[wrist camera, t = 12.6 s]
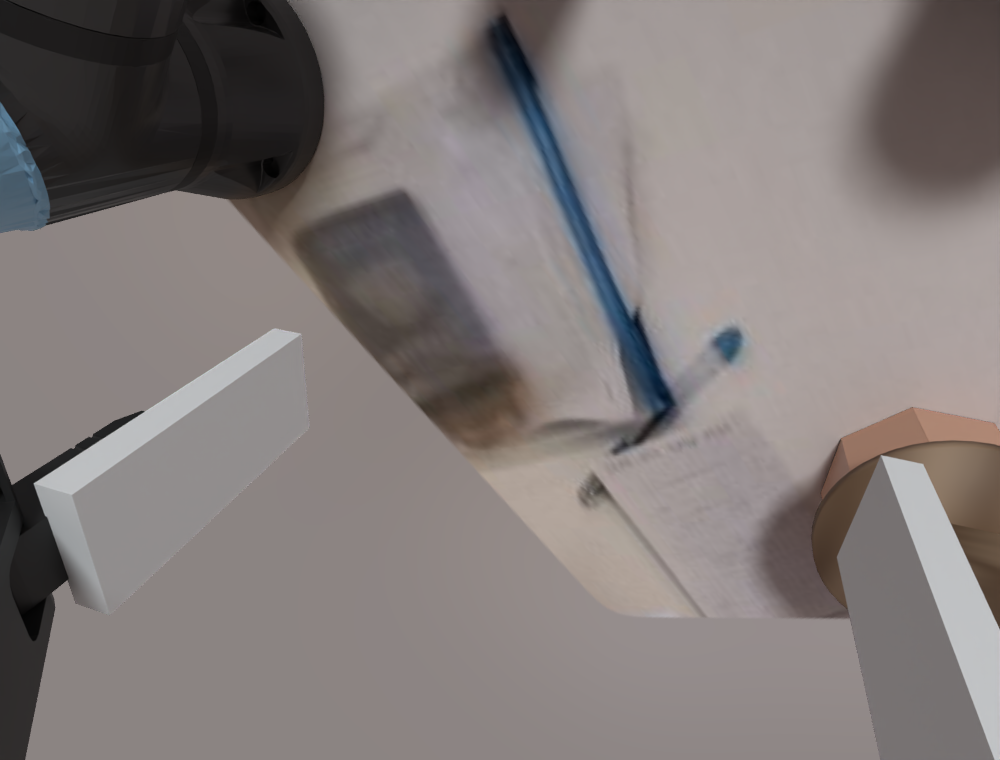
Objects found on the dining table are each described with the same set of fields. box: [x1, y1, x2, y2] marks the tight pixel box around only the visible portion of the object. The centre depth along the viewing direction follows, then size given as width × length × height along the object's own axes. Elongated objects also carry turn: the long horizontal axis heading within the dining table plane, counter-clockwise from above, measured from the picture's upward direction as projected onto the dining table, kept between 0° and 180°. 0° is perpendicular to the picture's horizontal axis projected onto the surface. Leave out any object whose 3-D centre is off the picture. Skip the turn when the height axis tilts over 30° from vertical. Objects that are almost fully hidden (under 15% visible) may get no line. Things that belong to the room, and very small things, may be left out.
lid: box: [811, 440, 1000, 628], centre depth 35 cm, size 14×14×8 cm
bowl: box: [821, 407, 1000, 500], centre depth 41 cm, size 11×11×6 cm
